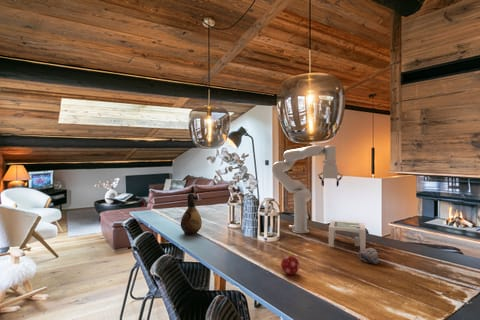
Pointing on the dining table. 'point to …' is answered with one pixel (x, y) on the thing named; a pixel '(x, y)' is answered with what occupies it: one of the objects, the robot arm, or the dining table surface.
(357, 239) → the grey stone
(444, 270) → the dining table surface
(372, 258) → the pumice stone
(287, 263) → the christmas ornament
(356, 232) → the trapdoor
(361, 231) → the frame
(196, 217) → the ceramic jug
